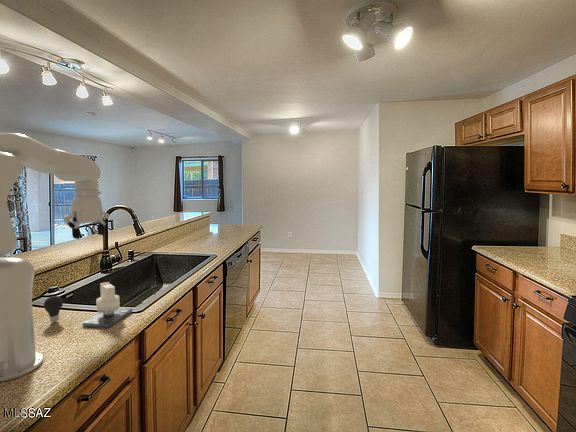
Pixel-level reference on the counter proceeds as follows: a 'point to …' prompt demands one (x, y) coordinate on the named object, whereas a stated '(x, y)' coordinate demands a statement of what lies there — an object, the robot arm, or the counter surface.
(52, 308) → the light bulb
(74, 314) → the counter surface
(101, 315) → the plate
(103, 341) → the counter surface
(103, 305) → the twist cap
